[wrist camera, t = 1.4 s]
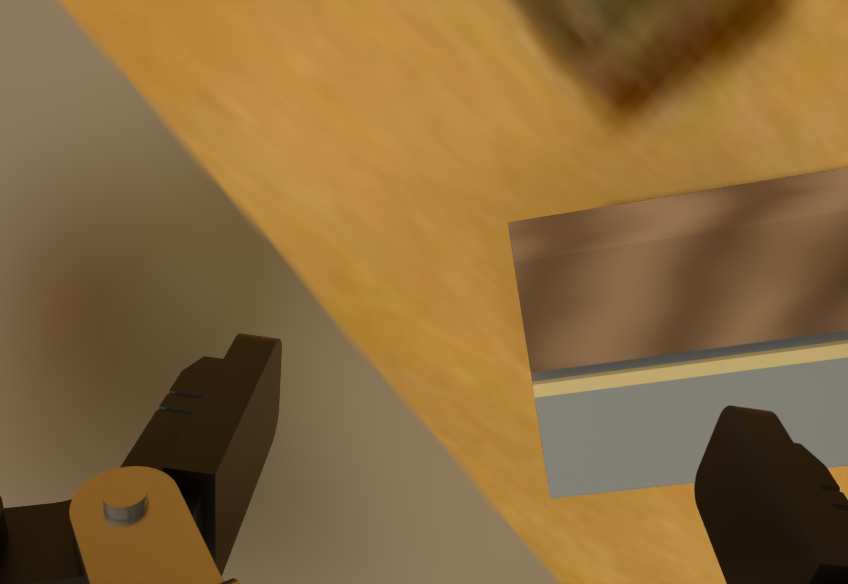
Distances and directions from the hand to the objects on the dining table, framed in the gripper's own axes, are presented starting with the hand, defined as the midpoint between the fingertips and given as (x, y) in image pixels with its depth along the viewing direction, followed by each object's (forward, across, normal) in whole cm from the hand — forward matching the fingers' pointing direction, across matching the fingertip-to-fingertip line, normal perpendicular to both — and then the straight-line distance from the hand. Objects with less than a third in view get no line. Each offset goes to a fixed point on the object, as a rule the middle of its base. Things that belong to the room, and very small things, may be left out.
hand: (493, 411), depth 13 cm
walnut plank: (+19, -11, +4) cm, 23 cm away
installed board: (+22, -14, +14) cm, 29 cm away
